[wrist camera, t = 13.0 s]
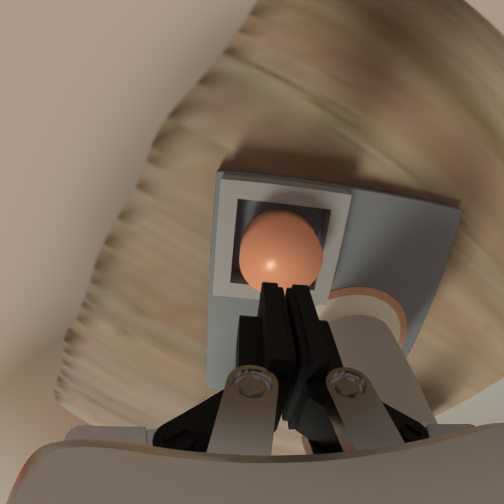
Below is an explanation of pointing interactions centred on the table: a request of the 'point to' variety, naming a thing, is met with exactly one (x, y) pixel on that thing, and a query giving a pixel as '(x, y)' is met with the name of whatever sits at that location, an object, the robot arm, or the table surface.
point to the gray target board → (330, 256)
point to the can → (381, 364)
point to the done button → (280, 250)
